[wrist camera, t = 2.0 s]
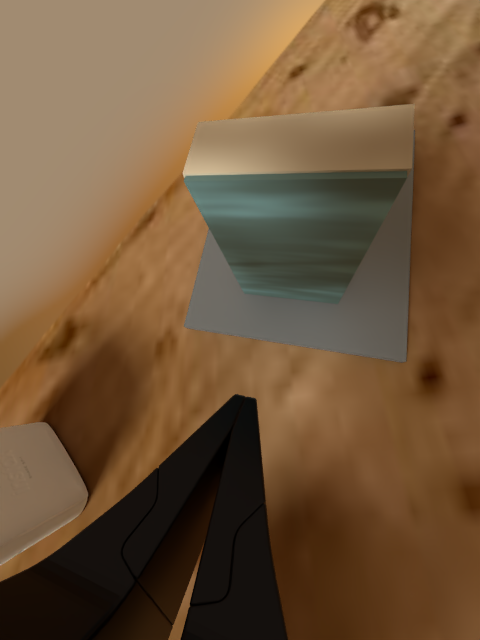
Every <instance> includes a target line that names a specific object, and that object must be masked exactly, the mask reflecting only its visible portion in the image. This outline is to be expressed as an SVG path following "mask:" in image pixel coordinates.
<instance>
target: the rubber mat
mask: <svg viewBox="0 0 480 640" xmlns="http://www.w3.org/2000/svg"><path fill="white" fill-rule="evenodd" d="M414 148H415V130H414V132H413V157H412V169H411V171H410V173H409V175H408V177H407V179H406V181H405V183H404V185H403V186H402V188H401V190H400V192H399V194H398V196H397V197H396V199H395V201H394V203H393V205H392V206H391V208H390V210H389V212H388V214H387V216H386V217H385V219H384V221H383V223H382V225H381V227H380V228H379V230H378V232H377V234H376V236H375V237H374V239H373V241H372V243H371V245H370V247H369V248H368V250H367V252H366V254H365V256H364V258H363V259H362V261H361V263H360V265H359V267H358V268H357V270H356V272H355V274H354V276H353V278H352V279H351V281H350V283H349V285H348V287H347V289H346V290H345V292H344V294H343V296H342V298H341V299H340V301H339V303H338V304H333V303H324V302H315V301H306V300H297V299H288V298H279V297H270V296H261V295H252V294H244V292H243V290H242V289H241V287H240V285H239V283H238V281H237V279H236V277H235V276H234V274H233V272H232V270H231V268H230V266H229V264H228V263H227V261H226V259H225V257H224V255H223V253H222V251H221V249H220V248H219V246H218V244H217V242H216V240H215V238H214V236H213V235H212V233H211V231H210V229H209V230H208V234H207V238H206V242H205V245H204V249H203V253H202V257H201V261H200V265H199V269H198V273H197V277H196V281H195V285H194V289H193V293H192V297H191V300H190V304H189V308H188V312H187V316H186V320H185V324H184V327H186V328H189V329H195V330H201V331H208V332H214V333H220V334H227V335H233V336H239V337H245V338H252V339H258V340H264V341H270V342H277V343H283V344H289V345H296V346H302V347H308V348H314V349H321V350H327V351H333V352H339V353H346V354H352V355H358V356H365V357H371V358H377V359H383V360H390V361H396V362H406V356H407V330H408V304H409V278H410V252H411V226H412V200H413V174H414Z"/></svg>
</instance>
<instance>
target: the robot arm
mask: <svg viewBox="0 0 480 640" xmlns="http://www.w3.org/2000/svg"><path fill="white" fill-rule="evenodd" d="M204 541H205V543H204ZM203 544H204V547H203ZM202 547H203V551H202V555H201V560H200V564H199V568H198V572H197V576H196V580H195V584H194V589H193V593H192V597H191V601H190V607H189V610H188V614H187V618H186V622H185V625H184V629H183V633H182V636H181V640H288V636H287V631H286V626H285V621H284V616H283V611H282V605H281V600H280V595H279V590H278V585H277V580H276V575H275V569H274V563H273V557H272V551H271V545H270V537H269V528H268V519H267V508H266V499H265V488H264V477H263V466H262V455H261V444H260V433H259V422H258V411H257V400H256V399H255V398H251V397H245V396H242V395H238V394H235V395H234V396H232V397H231V398H230V399H229V400H228V401H227V402H226V403H225V404H224V405H223V406H222V407H221V408H220V409H219V410H218V411H217V412H216V413H214V414H213V415H212V416H211V417H210V418H209V419H208V420H207V421H206V422H205V423H204V424H203V425H202V426H201V427H200V428H199V429H198V430H196V431H195V432H194V433H193V434H192V435H191V436H190V437H189V438H188V439H187V440H186V441H185V442H184V443H183V444H182V445H181V446H179V447H178V448H177V449H176V450H175V451H174V452H173V453H172V454H171V455H170V456H169V457H168V458H167V459H166V460H165V461H164V462H163V463H161V464H160V465H159V469H158V468H156V469H155V470H154V471H153V472H152V473H151V474H150V475H149V476H148V477H147V478H145V479H144V480H143V481H142V482H141V483H140V484H139V485H138V486H137V487H135V488H134V489H133V490H132V491H131V492H130V493H129V494H127V495H126V496H125V497H124V498H123V499H121V500H120V501H119V502H118V503H116V504H115V505H114V506H113V507H112V508H110V509H109V510H108V511H106V512H105V513H104V514H103V515H101V516H100V517H99V518H98V519H96V520H95V521H94V522H93V523H91V524H90V525H89V526H88V527H86V528H85V529H84V530H82V531H81V532H80V533H79V534H77V535H76V536H75V537H74V538H72V539H71V540H70V541H69V542H67V543H66V544H65V545H63V546H62V547H61V548H60V549H58V550H57V551H56V552H54V553H53V554H51V555H50V556H48V557H47V558H45V559H44V560H42V561H40V562H39V563H37V564H35V565H34V566H32V567H30V568H28V569H26V570H24V571H22V572H20V573H18V574H16V575H14V576H12V577H10V578H7V579H5V580H3V581H1V582H0V640H168V638H169V636H170V633H171V630H172V627H173V626H172V625H173V624H174V622H175V619H176V617H177V614H178V611H179V608H180V606H181V603H182V600H183V598H184V595H185V592H186V590H187V587H188V584H189V582H190V579H191V576H192V574H193V571H194V568H195V565H196V563H197V560H198V557H199V555H200V552H201V549H202Z"/></svg>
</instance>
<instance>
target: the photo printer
mask: <svg viewBox="0 0 480 640" xmlns="http://www.w3.org/2000/svg"><path fill="white" fill-rule="evenodd" d="M87 497H88V492H87V489H86V486H85V484H84V482H83V480H82V478H81V476H80V474H79V473H78V471H77V469H76V467H75V465H74V464H73V462H72V460H71V459H70V457H69V455H68V453H67V452H66V450H65V448H64V447H63V445H62V444H61V442H60V440H59V439H58V437H57V436H56V434H55V433H54V431H53V430H52V428H51V427H50V426H49V425H48V424H47V423H45V422H38V423H31V424H24V425H18V426H11V427H5V428H0V565H2V564H3V563H5V562H7V561H8V560H10V559H11V558H13V557H15V556H16V555H18V554H19V553H21V552H23V551H24V550H26V549H27V548H29V547H30V546H32V545H34V544H35V543H37V542H38V541H40V540H42V539H43V538H45V537H46V536H48V535H50V534H51V533H53V532H54V531H56V530H57V529H59V528H61V527H62V526H64V525H65V524H67V523H69V522H70V521H72V520H73V519H75V518H76V517H77V516H79V515H80V513H81V512H82V511H83V509H84V507H85V505H86V503H87Z"/></svg>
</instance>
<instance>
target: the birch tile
mask: <svg viewBox="0 0 480 640" xmlns="http://www.w3.org/2000/svg"><path fill="white" fill-rule="evenodd" d="M414 107H415V104H408V105H396V106H384V107H373V108H361V109H349V110H337V111H325V112H313V113H301V114H289V115H277V116H265V117H253V118H241V119H229V120H218V121H205V122H198V124H197V128H196V131H195V134H194V137H193V141H192V144H191V147H190V151H189V154H188V157H187V161H186V164H185V167H184V171H183V176H184V178H185V179H184V182H185V184H186V186H187V188H188V190H189V192H190V194H191V195H192V197H193V199H194V201H195V203H196V205H197V207H198V208H199V210H200V212H201V214H202V216H203V218H204V220H205V222H206V223H207V225H208V227H209V229H210V231H211V233H212V235H213V236H214V238H215V240H216V242H217V244H218V246H219V248H220V249H221V251H222V253H223V255H224V257H225V259H226V261H227V263H228V264H229V266H230V268H231V270H232V272H233V274H234V276H235V277H236V279H237V281H238V283H239V285H240V287H241V289H242V290H243V292H244V294H252V295H261V296H270V297H279V298H288V299H297V300H306V301H315V302H324V303H333V304H338V303H339V301H340V299H341V298H342V296H343V294H344V292H345V290H346V289H347V287H348V285H349V283H350V281H351V279H352V278H353V276H354V274H355V272H356V270H357V268H358V267H359V265H360V263H361V261H362V259H363V258H364V256H365V254H366V252H367V250H368V248H369V247H370V245H371V243H372V241H373V239H374V237H375V236H376V234H377V232H378V230H379V228H380V227H381V225H382V223H383V221H384V219H385V217H386V216H387V214H388V212H389V210H390V208H391V206H392V205H393V203H394V201H395V199H396V197H397V196H398V194H399V192H400V190H401V188H402V186H403V185H404V183H405V181H406V179H407V177H408V175H409V173H410V171H411V169H412V157H413V132H414Z"/></svg>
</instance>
